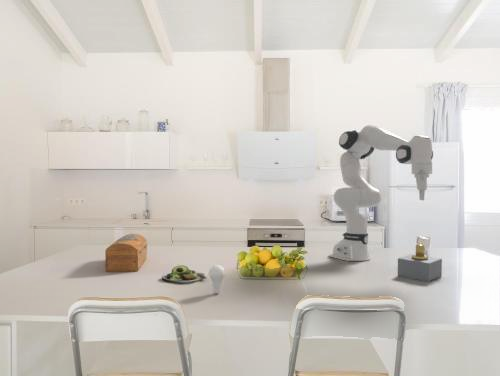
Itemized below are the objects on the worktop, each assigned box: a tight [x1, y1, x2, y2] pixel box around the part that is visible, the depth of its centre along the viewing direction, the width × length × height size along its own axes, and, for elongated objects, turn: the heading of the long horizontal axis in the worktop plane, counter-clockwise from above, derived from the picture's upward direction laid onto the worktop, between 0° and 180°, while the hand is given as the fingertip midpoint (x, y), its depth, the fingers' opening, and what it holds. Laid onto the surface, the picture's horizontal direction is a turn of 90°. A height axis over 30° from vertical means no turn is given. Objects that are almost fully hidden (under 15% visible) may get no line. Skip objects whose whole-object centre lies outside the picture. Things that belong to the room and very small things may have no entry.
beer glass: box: [415, 236, 432, 257], centre depth 196 cm, size 7×7×15 cm
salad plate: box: [161, 265, 208, 285], centre depth 174 cm, size 19×18×5 cm
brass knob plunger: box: [412, 244, 428, 260], centre depth 180 cm, size 7×7×14 cm
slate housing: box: [397, 253, 443, 282], centre depth 180 cm, size 14×14×8 cm
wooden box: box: [104, 233, 148, 273], centre depth 200 cm, size 30×16×14 cm, turn 6°
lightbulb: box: [208, 264, 226, 294], centre depth 151 cm, size 6×6×11 cm
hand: (421, 199), depth 185 cm, fingers open, 8 cm apart
